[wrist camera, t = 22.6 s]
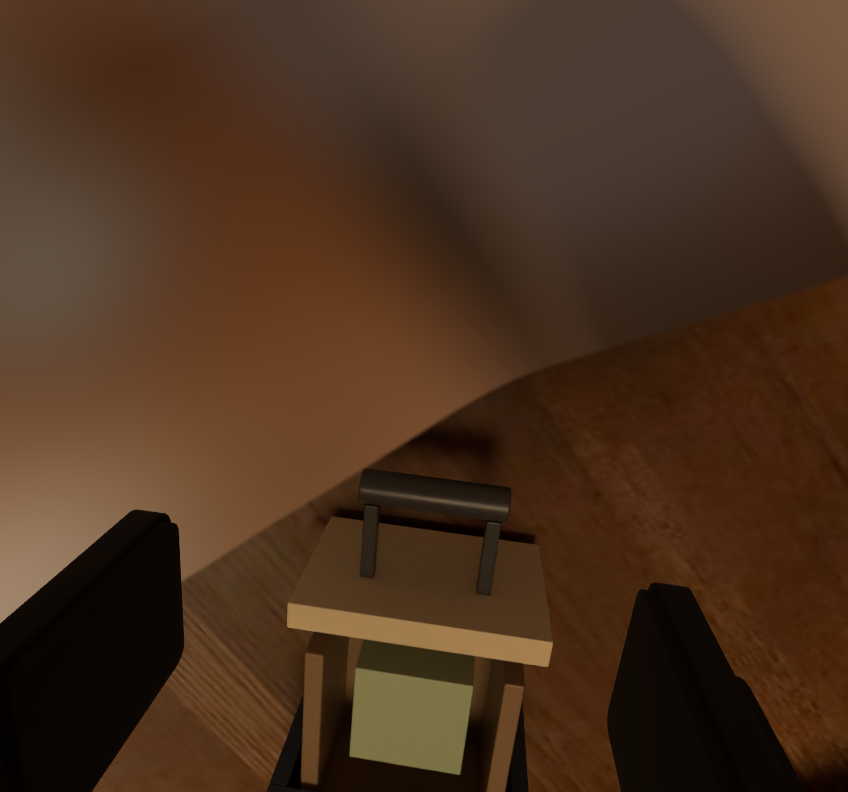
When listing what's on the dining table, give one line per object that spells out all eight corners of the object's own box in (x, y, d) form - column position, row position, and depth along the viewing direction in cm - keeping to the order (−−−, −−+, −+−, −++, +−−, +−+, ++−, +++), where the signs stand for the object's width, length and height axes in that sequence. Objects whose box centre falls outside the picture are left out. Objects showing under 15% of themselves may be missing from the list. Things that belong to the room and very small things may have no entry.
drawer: (335, 425, 28) (289, 491, 21) (555, 453, 27) (576, 531, 21) (322, 707, 33) (282, 827, 27) (504, 737, 33) (508, 868, 26)
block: (376, 593, 29) (355, 668, 25) (476, 608, 29) (473, 686, 24) (370, 672, 31) (348, 757, 26) (464, 687, 31) (460, 775, 26)
